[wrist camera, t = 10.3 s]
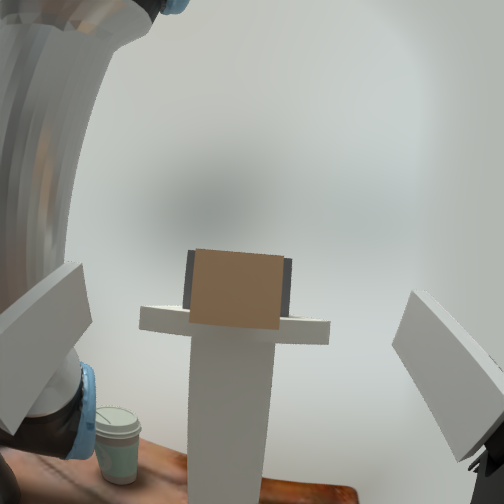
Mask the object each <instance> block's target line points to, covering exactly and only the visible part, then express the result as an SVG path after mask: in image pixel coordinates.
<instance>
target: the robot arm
mask: <svg viewBox="0 0 504 504" xmlns="http://www.w3.org/2000/svg"><path fill="white" fill-rule="evenodd" d="M189 1H190V0H0V446H4V447H8V448H12V449H16V450H20V451H24V452H29V453H33V454H39V455H44V456H50V457H56V458H60V459H61V460H69V459H77V460H85V459H88V458H90V457H91V456H92V454H93V452H94V448H95V438H96V428H95V422H96V421H95V420H96V386H95V375H94V371H93V369H92V367H90V366H89V365H87V364H84V363H83V362H80V361H79V357H78V355H77V352H76V350H75V349H74V347H73V346H74V345H75V344H76V342H77V341H78V340H79V338H80V337H81V336H82V335H83V333H84V332H85V331H86V329H87V328H88V327H89V326H90V324H91V323H92V318H91V313H90V309H89V303H88V298H87V292H86V286H85V280H84V273H83V266H82V263H77V262H69V261H68V262H66V263H64V253H65V241H66V231H67V222H68V215H69V208H70V202H71V196H72V190H73V184H74V179H75V174H76V169H77V164H78V159H79V156H80V151H81V148H82V143H83V140H84V136H85V132H86V129H87V125H88V122H89V118H90V115H91V111H92V109H93V106H94V102H95V100H96V97H97V94H98V91H99V88H100V85H101V83H102V80H103V77H104V75H105V72H106V70H107V67H108V65H109V62H110V60H111V58H112V55H113V53H114V52H115V51H116V50H117V49H119V48H120V47H121V46H124V45H126V44H128V43H130V42H131V41H134V40H136V39H138V38H140V37H142V36H144V35H146V34H147V33H148V32H149V30H150V28H151V26H152V24H153V22H154V20H155V18H156V17H157V15H158V13H159V11H160V13H161V14H164V15H169V14H179V13H181V12H182V11H183V10H184V9H185V8H186V6H187V5H188V3H189ZM392 346H393V348H394V349H395V351H396V352H397V354H398V356H399V358H400V359H401V361H402V362H403V364H404V366H405V367H406V369H407V371H408V372H409V374H410V376H411V377H412V379H413V381H414V383H415V384H416V386H417V388H418V389H419V391H420V393H421V395H422V396H423V398H424V400H425V402H426V403H427V405H428V407H429V409H430V411H431V412H432V414H433V416H434V418H435V420H436V422H437V423H438V425H439V427H440V429H441V431H442V433H443V435H444V437H445V439H446V441H447V442H448V445H449V447H450V449H451V450H452V453H453V455H454V456H455V459H456V461H457V462H460V461H462V460H465V459H467V458H469V457H471V456H473V455H474V454H475V453H476V452H477V451H478V450H479V449H480V448H481V446H482V445H483V444H484V445H485V447H486V450H485V451H484V452H483V453H482V454H481V455H480V456H479V457H478V458H477V459H476V460H475V461H474V462H473V463H472V464H471V465H470V466H469V468H468V471H470V470H471V469H473V467H475V466H476V465H477V464H478V463H480V464H479V466H478V467H477V468H475V470H474V471H473V472H475V473H478V474H477V479H476V483H475V488H474V492H473V496H472V500H471V503H470V504H504V373H503V371H502V370H501V368H500V367H498V366H497V364H496V363H495V362H494V361H493V359H492V358H491V357H490V356H489V355H488V354H487V353H486V352H485V351H484V350H483V349H482V348H481V347H480V346H479V344H478V343H477V342H476V341H475V340H474V339H473V338H472V337H471V336H470V335H469V334H468V333H467V331H465V329H464V328H463V327H462V326H461V325H460V324H459V323H458V322H457V321H456V320H455V319H454V318H453V317H452V316H451V315H450V314H449V313H448V312H447V311H446V310H445V309H444V308H443V307H442V306H441V305H440V304H439V303H438V302H437V301H436V300H435V299H434V298H433V297H432V296H431V295H430V294H429V293H427V292H426V291H421V290H412V291H411V294H410V297H409V300H408V303H407V306H406V309H405V311H404V314H403V317H402V320H401V322H400V325H399V328H398V330H397V333H396V335H395V338H394V340H393V343H392ZM20 496H21V495H20V488H19V485H18V483H17V480H16V477H15V475H14V473H13V471H12V469H11V468H10V467H9V465H8V464H7V463H6V461H5V460H4V458H3V456H2V455H1V453H0V504H19V501H20Z"/></svg>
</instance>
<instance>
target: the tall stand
mask: <svg viewBox="0 0 504 504" xmlns="http://www.w3.org/2000/svg"><path fill="white" fill-rule="evenodd" d="M182 307H183V306H141V308H140V322H139V329H140V330H147V331H154V332H161V333H168V334H175V335H183V336H192V338H191V355H190V373H189V397H188V445H187V447H188V448H187V467H188V504H258V501H259V494H260V486H261V478H262V470H263V462H264V452H265V444H266V436H267V427H268V416H269V407H270V397H271V387H272V376H273V365H274V353H275V343H282V344H318V345H319V344H320V345H328V344H329V334H330V321H325V320H319V319H313V318H307V317H302V316H296V315H289V318H288V317H280V323H279V330H272V329H256V328H242V327H229V326H218V325H207V324H198V323H189V315H190V310H188V309H182Z"/></svg>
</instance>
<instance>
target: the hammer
mask: <svg viewBox="0 0 504 504" xmlns="http://www.w3.org/2000/svg"><path fill="white" fill-rule="evenodd" d="M291 272H292V259H290V258H284V256H277V255H266V254H254V253H242V252H230V251H217V250H206V249H196V251H194V250H188V256H187V264H186V274H185V284H184V295H183V307H182V309H188V310H190V315H189V323H198V324H207V325H218V326H229V327H242V328H256V329H272V330H279V323H280V317H288V318H289V303H290V288H291Z"/></svg>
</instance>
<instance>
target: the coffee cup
mask: <svg viewBox="0 0 504 504" xmlns="http://www.w3.org/2000/svg"><path fill="white" fill-rule="evenodd" d="M95 421H96V422H95V428H96V438H95V448H94V449H95V452H96V456H97V459H98V463H99V466H100V469H101V472H102V475H103V477H104V478H105V479H106V480H107V481H109V482H111V483H114V484H120V485H125V484H130V483H132V482H134V481H135V480H136V478H137V460H138V445H139V433H140V432H141V424H140V422H139V421H138V418H137V415H136V414H135V413H134V412H132V411H130V410H128V409H125V408H121V407H116V406H100V407H96V420H95Z"/></svg>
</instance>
